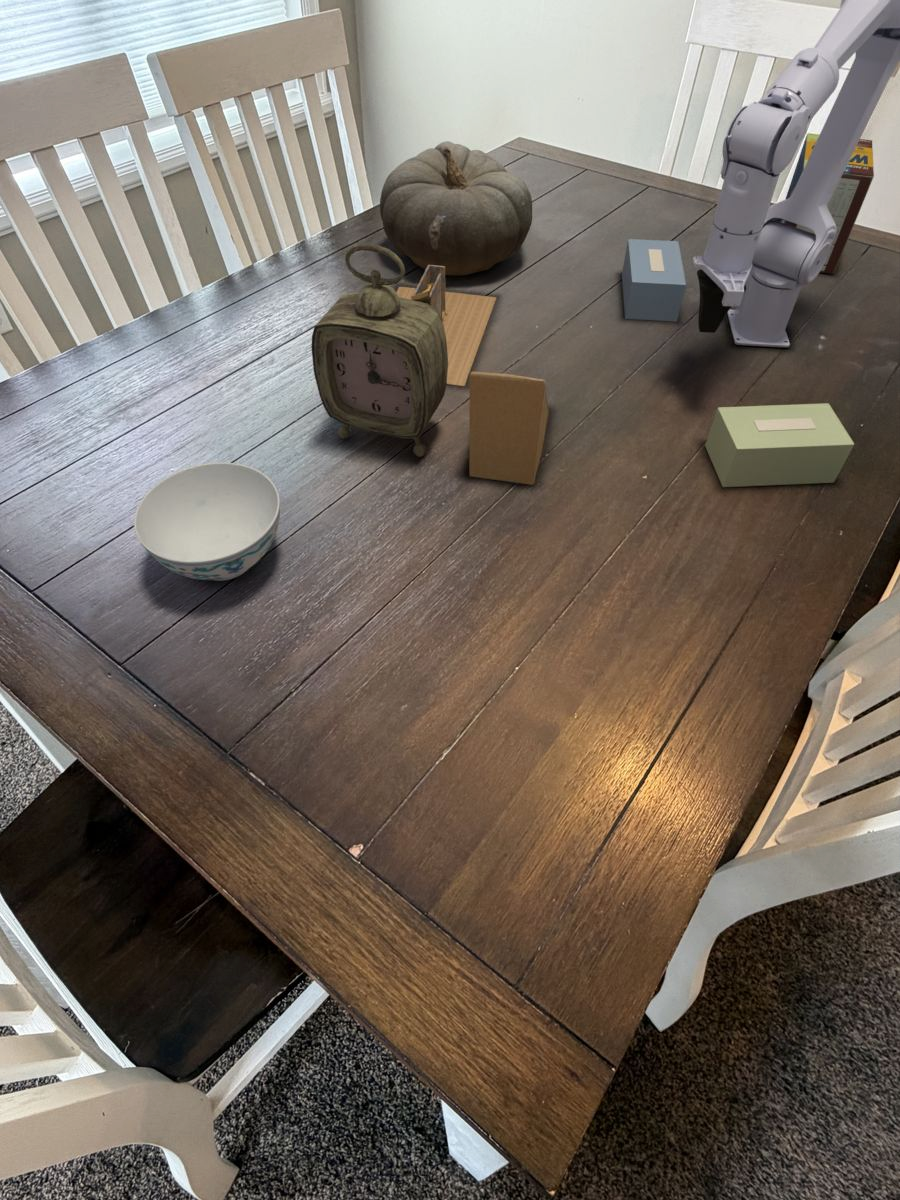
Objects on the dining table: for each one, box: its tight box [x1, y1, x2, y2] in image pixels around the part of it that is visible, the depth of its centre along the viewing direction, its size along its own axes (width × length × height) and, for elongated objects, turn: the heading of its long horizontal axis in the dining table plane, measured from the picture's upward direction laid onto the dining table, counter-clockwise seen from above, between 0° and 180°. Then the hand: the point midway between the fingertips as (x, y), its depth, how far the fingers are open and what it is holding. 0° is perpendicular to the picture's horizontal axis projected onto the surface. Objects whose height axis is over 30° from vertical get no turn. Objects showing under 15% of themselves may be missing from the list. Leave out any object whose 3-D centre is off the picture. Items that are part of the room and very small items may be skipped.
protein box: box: [781, 132, 875, 275], centre depth 122 cm, size 10×15×16 cm
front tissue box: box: [704, 402, 855, 488], centre depth 90 cm, size 8×14×6 cm, turn 93°
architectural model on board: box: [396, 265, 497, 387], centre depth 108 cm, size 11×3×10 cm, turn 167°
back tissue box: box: [621, 238, 687, 323], centre depth 116 cm, size 14×8×6 cm, turn 174°
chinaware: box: [133, 462, 281, 582], centre depth 80 cm, size 15×15×8 cm
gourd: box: [379, 140, 533, 277], centre depth 121 cm, size 25×25×17 cm
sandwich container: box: [468, 371, 550, 486], centre depth 90 cm, size 9×15×15 cm, turn 168°
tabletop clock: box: [311, 243, 448, 458], centre depth 87 cm, size 14×9×25 cm, turn 70°
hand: (706, 329), depth 97 cm, fingers closed
